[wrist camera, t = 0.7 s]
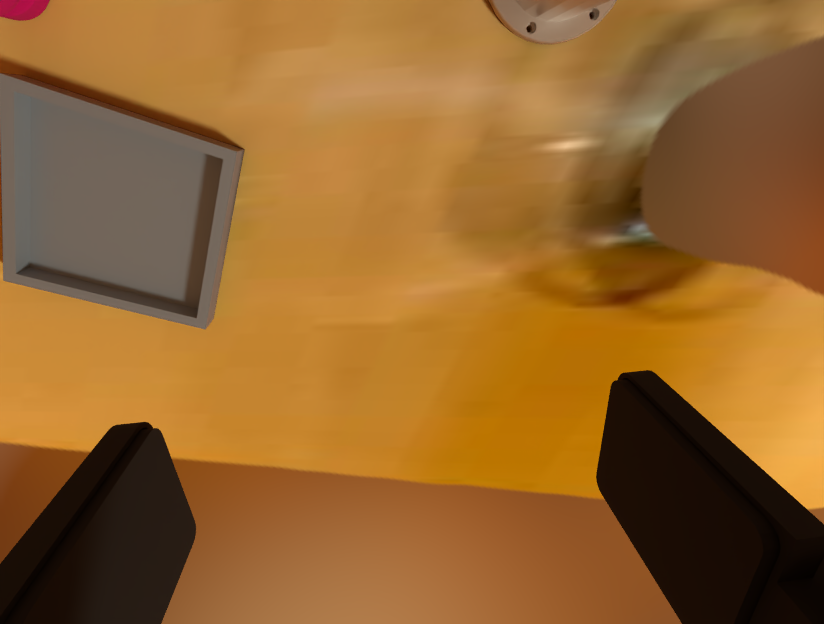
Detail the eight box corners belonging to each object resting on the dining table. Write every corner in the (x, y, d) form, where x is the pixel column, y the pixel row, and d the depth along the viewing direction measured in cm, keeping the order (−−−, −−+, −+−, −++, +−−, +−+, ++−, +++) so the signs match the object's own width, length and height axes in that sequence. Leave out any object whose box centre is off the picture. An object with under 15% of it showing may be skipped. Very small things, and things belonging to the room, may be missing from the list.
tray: (22, 75, 36) (-1, 72, 34) (244, 149, 40) (237, 151, 38) (22, 271, 43) (3, 280, 40) (213, 318, 47) (205, 329, 44)
